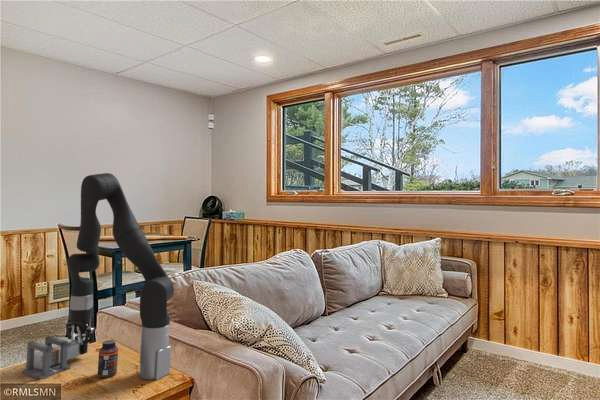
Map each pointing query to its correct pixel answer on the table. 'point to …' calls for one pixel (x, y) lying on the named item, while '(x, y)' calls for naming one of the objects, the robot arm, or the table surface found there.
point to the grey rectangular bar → (58, 354)
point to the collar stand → (46, 358)
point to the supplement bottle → (108, 359)
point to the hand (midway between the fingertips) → (79, 352)
